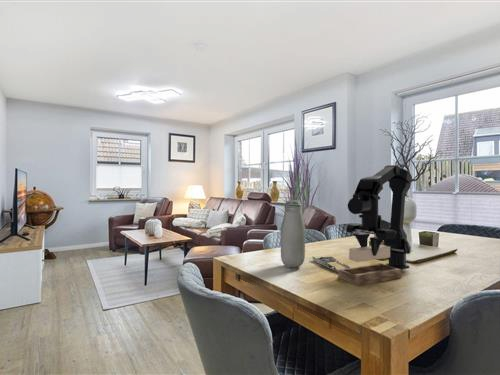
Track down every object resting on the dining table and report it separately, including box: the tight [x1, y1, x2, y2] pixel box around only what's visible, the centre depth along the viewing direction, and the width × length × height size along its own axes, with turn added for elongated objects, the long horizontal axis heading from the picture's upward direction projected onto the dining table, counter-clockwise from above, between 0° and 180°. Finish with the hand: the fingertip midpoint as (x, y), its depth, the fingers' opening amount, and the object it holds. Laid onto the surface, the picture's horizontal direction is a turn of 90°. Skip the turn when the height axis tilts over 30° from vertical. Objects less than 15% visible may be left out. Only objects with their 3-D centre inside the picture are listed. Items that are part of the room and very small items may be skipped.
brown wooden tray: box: [337, 262, 402, 287], centre depth 109 cm, size 21×10×3 cm, turn 114°
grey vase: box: [280, 199, 306, 269], centre depth 123 cm, size 10×10×28 cm
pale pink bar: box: [348, 244, 390, 263], centre depth 109 cm, size 16×4×4 cm, turn 113°
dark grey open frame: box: [311, 256, 351, 274], centre depth 125 cm, size 22×3×10 cm
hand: (369, 254), depth 109 cm, fingers closed on pale pink bar, 4 cm apart
